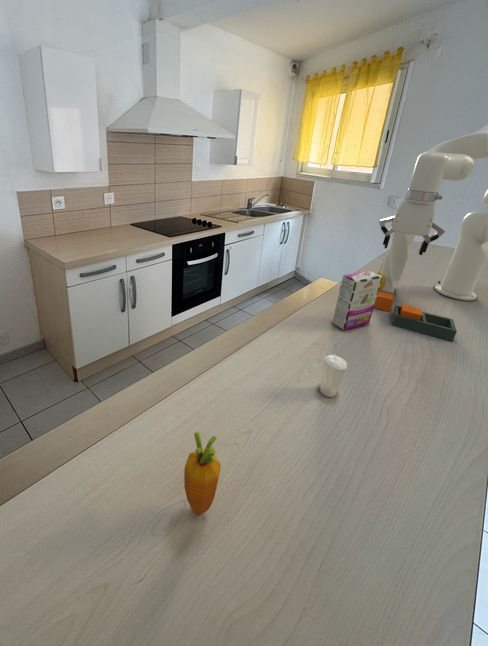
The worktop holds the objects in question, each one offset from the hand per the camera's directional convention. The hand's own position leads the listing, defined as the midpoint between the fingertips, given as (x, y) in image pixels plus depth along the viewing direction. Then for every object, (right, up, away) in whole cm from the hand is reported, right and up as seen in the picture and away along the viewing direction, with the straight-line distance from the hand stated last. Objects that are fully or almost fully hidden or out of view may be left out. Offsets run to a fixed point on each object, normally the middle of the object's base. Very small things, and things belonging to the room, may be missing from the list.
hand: (402, 250), depth 103 cm
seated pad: (0, -23, -2) cm, 23 cm away
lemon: (+2, -15, +19) cm, 24 cm away
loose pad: (-2, -19, +8) cm, 21 cm away
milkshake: (-37, -34, -31) cm, 59 cm away
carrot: (-67, -43, -55) cm, 97 cm away
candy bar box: (-18, -23, -3) cm, 30 cm away
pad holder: (+3, -24, -3) cm, 24 cm away
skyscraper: (+8, -14, +21) cm, 27 cm away
